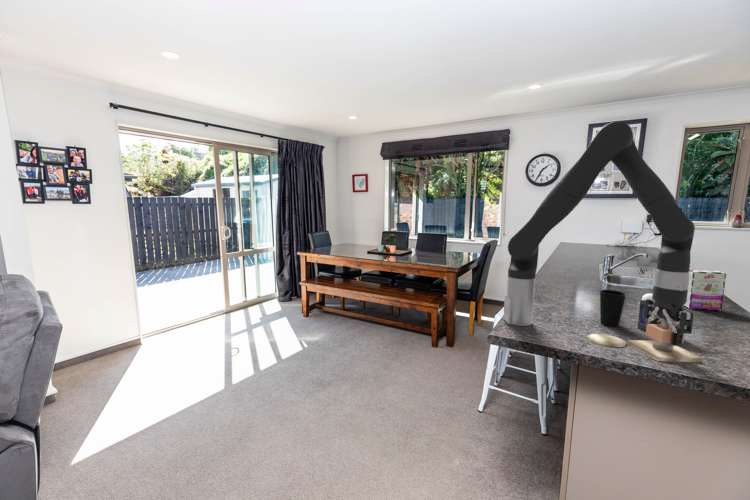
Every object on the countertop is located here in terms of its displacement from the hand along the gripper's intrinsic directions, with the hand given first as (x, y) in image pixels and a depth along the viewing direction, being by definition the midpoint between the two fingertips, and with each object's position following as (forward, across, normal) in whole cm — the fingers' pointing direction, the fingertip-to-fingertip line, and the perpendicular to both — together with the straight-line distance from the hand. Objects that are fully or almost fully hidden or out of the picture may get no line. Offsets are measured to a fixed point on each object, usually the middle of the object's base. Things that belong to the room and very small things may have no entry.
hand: (664, 339), depth 99 cm
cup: (+4, -24, 0) cm, 24 cm away
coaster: (+4, -8, -11) cm, 14 cm away
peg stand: (+4, 0, 0) cm, 4 cm away
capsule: (+4, -39, +25) cm, 46 cm away
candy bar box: (+4, -46, +52) cm, 69 cm away
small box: (+4, -16, +11) cm, 20 cm away
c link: (0, 0, 0) cm, 0 cm away
